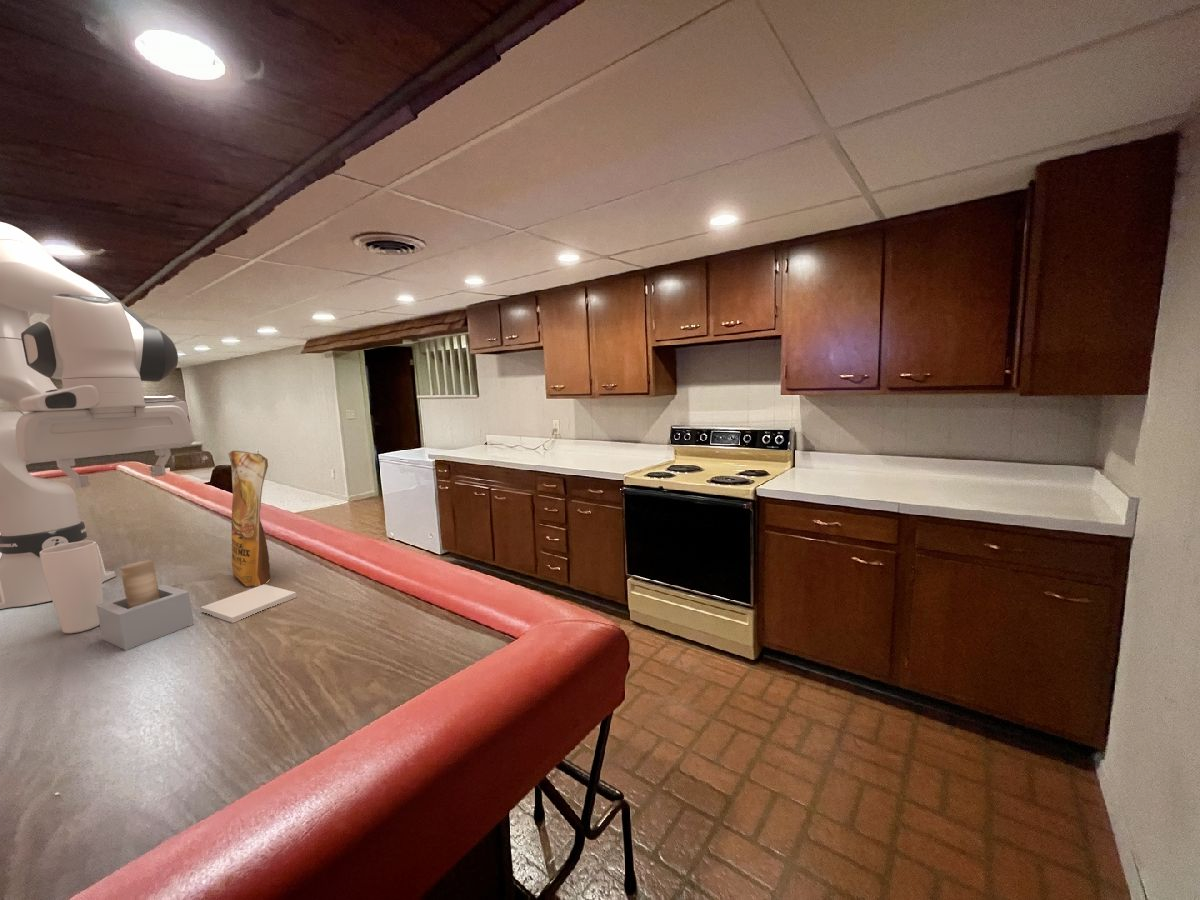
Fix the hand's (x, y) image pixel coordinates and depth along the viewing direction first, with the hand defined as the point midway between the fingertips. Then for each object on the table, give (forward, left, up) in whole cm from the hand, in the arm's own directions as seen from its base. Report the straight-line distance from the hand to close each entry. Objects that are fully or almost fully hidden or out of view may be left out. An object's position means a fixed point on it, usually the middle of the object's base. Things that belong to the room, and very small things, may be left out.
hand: (122, 481), depth 78 cm
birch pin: (0, 0, -27) cm, 27 cm away
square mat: (+5, +13, -27) cm, 30 cm away
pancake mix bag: (-10, +22, -27) cm, 36 cm away
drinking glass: (-14, -4, -27) cm, 30 cm away
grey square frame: (0, 0, -26) cm, 26 cm away
